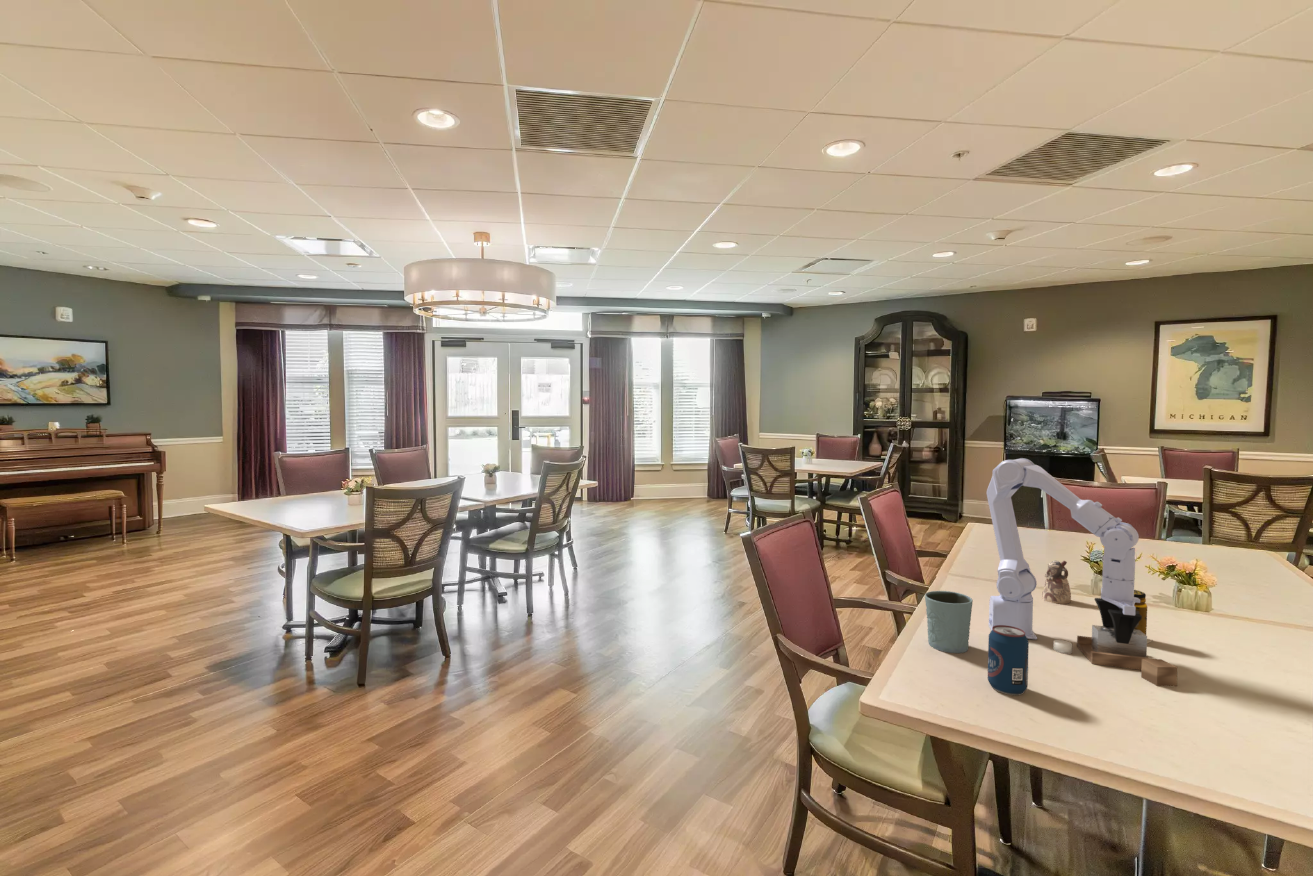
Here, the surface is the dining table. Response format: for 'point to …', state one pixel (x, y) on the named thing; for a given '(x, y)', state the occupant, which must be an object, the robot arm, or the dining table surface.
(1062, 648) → the plastic cap
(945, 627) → the green embossed planter
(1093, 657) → the stand
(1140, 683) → the dining table surface
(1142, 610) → the condiment
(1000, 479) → the robot arm
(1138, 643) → the block
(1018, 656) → the soda can
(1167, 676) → the walnut block
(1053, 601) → the figurine
